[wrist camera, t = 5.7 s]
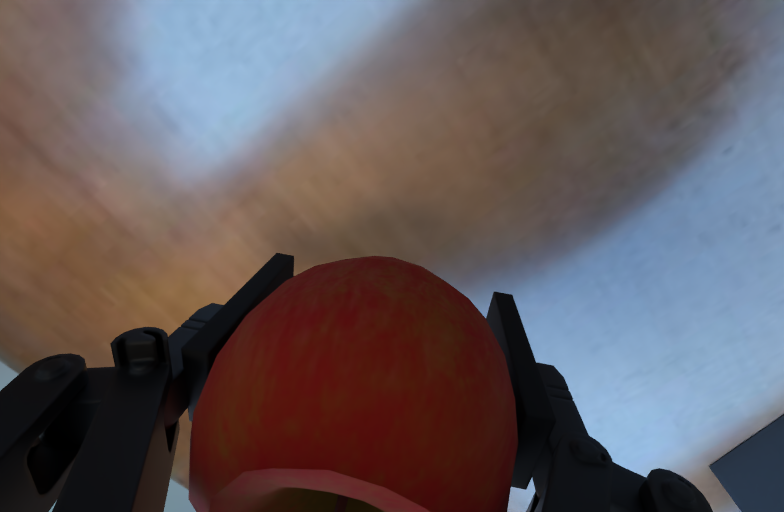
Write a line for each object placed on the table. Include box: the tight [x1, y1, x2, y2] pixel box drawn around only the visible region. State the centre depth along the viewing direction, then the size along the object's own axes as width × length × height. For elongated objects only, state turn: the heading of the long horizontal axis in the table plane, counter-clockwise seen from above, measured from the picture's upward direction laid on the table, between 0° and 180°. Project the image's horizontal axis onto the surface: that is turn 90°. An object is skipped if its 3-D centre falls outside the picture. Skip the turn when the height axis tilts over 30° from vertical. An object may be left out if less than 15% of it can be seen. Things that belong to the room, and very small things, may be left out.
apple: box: [189, 256, 518, 512], centre depth 12 cm, size 9×8×11 cm
